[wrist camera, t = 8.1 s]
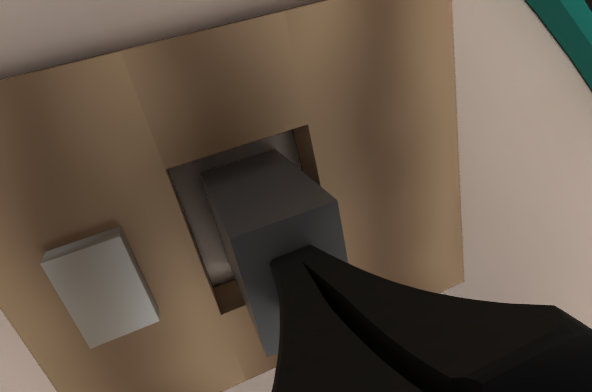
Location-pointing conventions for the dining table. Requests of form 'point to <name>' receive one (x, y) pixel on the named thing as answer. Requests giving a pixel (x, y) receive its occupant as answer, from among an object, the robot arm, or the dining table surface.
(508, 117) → the dining table surface
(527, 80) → the dining table surface
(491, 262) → the dining table surface
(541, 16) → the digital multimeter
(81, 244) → the socket board
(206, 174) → the grey block
